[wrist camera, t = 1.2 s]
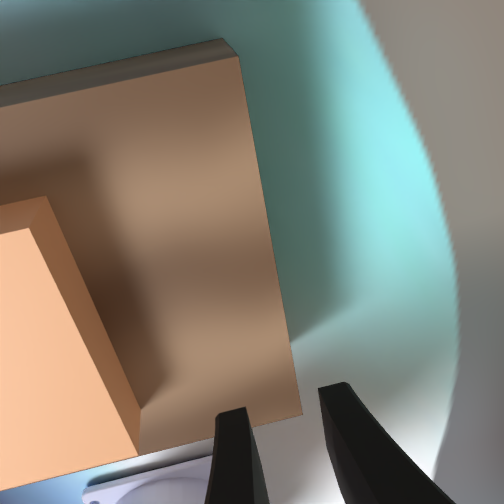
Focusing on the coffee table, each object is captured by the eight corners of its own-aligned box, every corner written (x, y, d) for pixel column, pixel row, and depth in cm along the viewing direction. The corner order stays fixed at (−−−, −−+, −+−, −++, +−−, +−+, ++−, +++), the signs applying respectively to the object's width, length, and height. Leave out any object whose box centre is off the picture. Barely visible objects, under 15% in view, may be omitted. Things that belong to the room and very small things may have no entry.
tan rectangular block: (140, 410, 18) (138, 455, 16) (-18, 449, 18) (-38, 500, 16) (45, 195, 13) (28, 228, 12) (-172, 244, 13) (-223, 285, 11)
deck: (282, 349, 23) (302, 414, 20) (-51, 431, 22) (-90, 514, 19) (222, 37, 16) (238, 56, 12) (-275, 144, 15) (-405, 195, 12)
